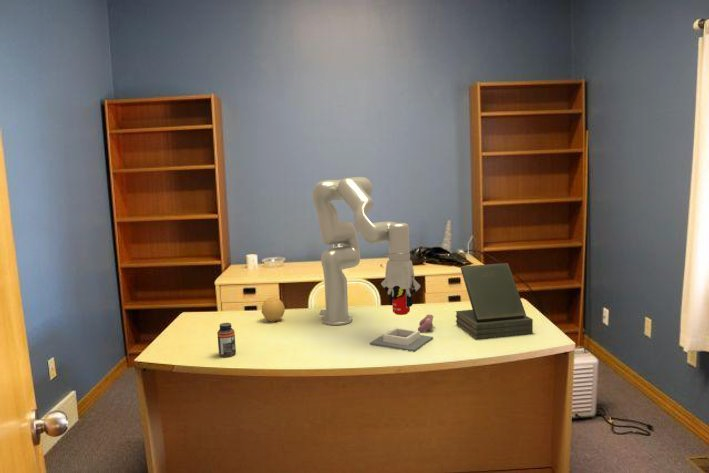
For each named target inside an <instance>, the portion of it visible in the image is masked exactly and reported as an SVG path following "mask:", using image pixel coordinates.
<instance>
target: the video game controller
mask: <svg viewBox="0 0 709 473" xmlns="http://www.w3.org/2000/svg"><path fill="white" fill-rule="evenodd" d="M433 320H434V315H433V314H429V313H428V314H426V315H425V317H424V318H422V319H421V320H420V322H419V327H418V328H417V331H420V333H424V332H426V331H429V329H430V328H431V327H433V326H434V323H433Z"/></svg>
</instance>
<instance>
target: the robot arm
mask: <svg viewBox="0 0 709 473" xmlns="http://www.w3.org/2000/svg"><path fill="white" fill-rule="evenodd" d="M372 192H373V185H372V182H371V181H370V180H369V179H368V178H367V177H364V176H353V177H352V176H351V177H344V178H342V179H328V180H327V179H326V180H321V181H319V182H317V183H316V184H315V185H314V187H313V189H312V195H311V196H312V201H313V205H314V208H315V210H316V213H317V221H318V226H319V232H320V238H321V242H322V243H323V244H324V245H326V246H333V245H340V244H341V245H342V246H338V247H332V248H328V249H325V250H324V251H323V252H322V254H321V257H320V264H321V267H322V270H323V280H324V292H325V293H324V295H325V296H324V298H325V299H324V300H325V309H320V311H319V313H318V314H319V315H320V316H323V318H322V323H323V324H324V325H328V326H343V325H347V324H350V323H351V322H353V317H352V316H350V315H349V303H348V302H349V301H348V300H349V299H348V298H349V296H348V280H347V277H346V275H345V273H344V271H343V270H346V269H351V268H352V269H353V268H355V267H357V266H359V264H360V262H361V251H360V249H361V248H360V244H359V239H358V238H359V237H358V233H359V236H361V237H362V239H363V240H364V241H365V242H367V243H369V244H379V243H388V252H387V253H386V254H385V256H386V258H388V260H387V261H386V266H385V278H384V280H382V281H381V283H380V284H381V286H382V287H383V288H384V290H385V291H386V292H387V295H388V302H389V306H392V288H393V287H394V286H399V287H400V288H401V289H406V292H407V294H408V296H407V307H410V308H411V307H412V306H413V305H414V295H415V294H416V292H417V291H419V289H420V288H421V284H420V283H419V282H418V281H417V280H416V279H415V269H414V266H413V262H412V260H411V252H410V251H411V250H410V248H411V247H410V245H411V244H410V227H409V226H410V225H409V224H408V223H405V222H395V221H387V220H386V221H378V222H372V221H370V219H369V218H368V216H367V215H368V214H369V213H370V212H371V211H372V209H373V207H374V199H372V198H371V197H370V196H371V194H372ZM331 201H345V203H346V204H347V205H348V206H349V207H350V209H351V210H352V211H353V212H354V215H353V222H354V224H353V223H352V222H350V221H348V220H341V221H340V219H339V214H338V209H337V208H336V206H335V205H334V204H333V203H332V202H331ZM357 232H358V233H357Z"/></svg>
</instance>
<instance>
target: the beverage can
mask: <svg viewBox="0 0 709 473" xmlns="http://www.w3.org/2000/svg"><path fill="white" fill-rule="evenodd" d="M407 296H408V294H407V292H406V289H401V288H400V287H399V286H394V287H393V288H392V305H391V306H392V313H394V314H395V315H397V316H405V315H408V314H409V313H410V312H411V306H410V307H407Z"/></svg>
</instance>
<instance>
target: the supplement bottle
mask: <svg viewBox="0 0 709 473" xmlns="http://www.w3.org/2000/svg"><path fill="white" fill-rule="evenodd" d="M216 334H217V345H218V355H219V356H220V357H221V358H231V357H233V356H235V355H236V354H237V350H236V347H237V346H236V334H235V330H234V328H232V323H231V322H221V323H220V324H219V330H217V333H216Z"/></svg>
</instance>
